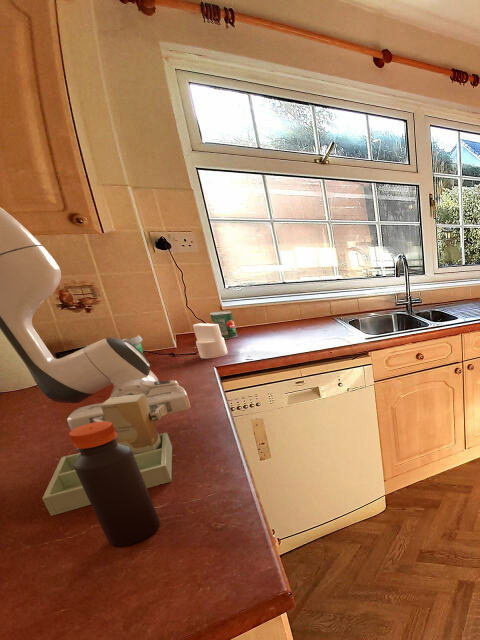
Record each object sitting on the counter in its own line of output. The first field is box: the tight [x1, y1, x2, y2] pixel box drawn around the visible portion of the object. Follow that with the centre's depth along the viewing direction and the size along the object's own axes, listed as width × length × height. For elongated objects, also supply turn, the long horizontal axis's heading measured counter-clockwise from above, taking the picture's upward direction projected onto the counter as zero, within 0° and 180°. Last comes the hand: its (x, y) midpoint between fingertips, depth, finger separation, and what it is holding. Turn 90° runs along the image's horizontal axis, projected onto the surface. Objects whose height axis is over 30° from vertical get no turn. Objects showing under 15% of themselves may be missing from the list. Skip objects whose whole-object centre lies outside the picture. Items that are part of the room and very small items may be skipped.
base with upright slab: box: [192, 322, 229, 360], centre depth 162 cm, size 9×9×12 cm
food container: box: [120, 334, 145, 356], centre depth 151 cm, size 12×6×10 cm, turn 147°
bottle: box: [68, 421, 161, 547], centre depth 68 cm, size 7×7×20 cm
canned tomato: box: [209, 310, 238, 340], centre depth 186 cm, size 8×8×11 cm
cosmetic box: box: [100, 394, 162, 455], centre depth 89 cm, size 6×4×12 cm
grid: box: [41, 432, 173, 517], centre depth 86 cm, size 17×17×4 cm
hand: (130, 422), depth 88 cm, fingers closed on cosmetic box, 7 cm apart
